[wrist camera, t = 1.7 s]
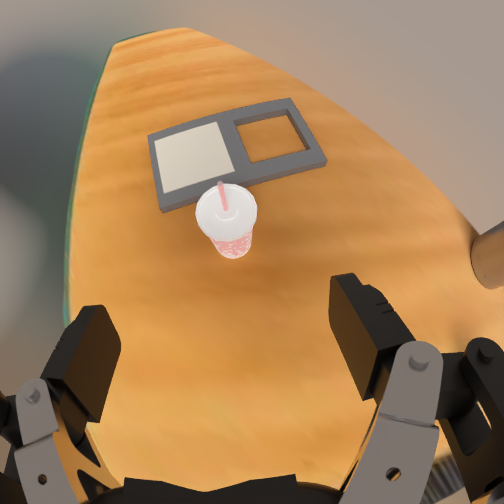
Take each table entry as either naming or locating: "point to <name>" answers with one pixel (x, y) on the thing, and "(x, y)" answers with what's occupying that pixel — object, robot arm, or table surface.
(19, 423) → the robot arm
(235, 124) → the hole board
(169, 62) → the table surface
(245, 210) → the beverage cup
